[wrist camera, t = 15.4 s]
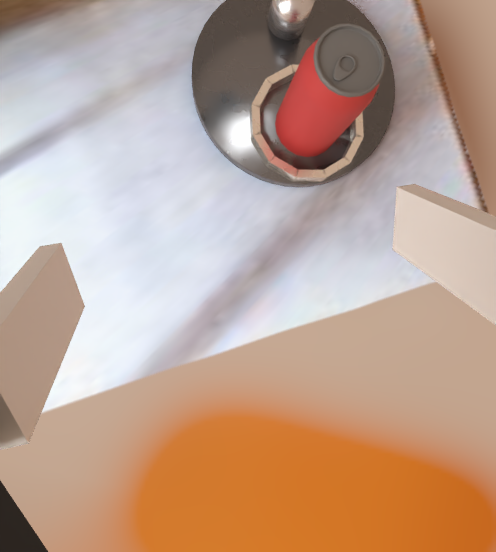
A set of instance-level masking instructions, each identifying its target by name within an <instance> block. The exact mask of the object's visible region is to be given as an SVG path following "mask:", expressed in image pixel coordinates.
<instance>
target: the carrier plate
mask: <svg viewBox="0 0 496 552" xmlns="http://www.w3.org/2000/svg"><path fill="white" fill-rule="evenodd" d="M346 23H350V24H354V25H358V26H361V27H363V28H364V29H366V30H368V31H369V32H371V33H372V34H373V36H374V37H375V38H376V39H377V40H378V41H379V43H380V45H381V47H382V49H383V51H384V57H385V69H384V75H383V77H382V79H381V81H380V83H379V87H378V89H377V91H376V93H375V95H374V97H373V99H372V101H371V103H370V104H369V105H368V106H367V107H366V108H365V109H364V110H363V112H362V113H361V114H360V115H359V116H358V117H357V118H356V119H355V120H354V121H353V122H352V123H351V125H350V126H349V127H348V128H347V129H346V130H345V131H344V132H343V133H342V134H341V135H340V136H339V138H338V139H337V140H336V141H335V142H334V143H333V144H332V145H331V146H330V147H329V148H328V149H327V150H326V151H325V152H324V153H321V154H319V155H317V156H312V157H304V156H299V155H296V154H294V153H292V152H290V151H289V150H288V149H287V148H286V147H285V146H284V145H283V144H282V143H281V141H280V139H279V137H278V135H277V132H276V126H275V121H276V115H277V112H278V110H279V108H280V106H281V103H282V101H283V99H284V97H285V95H286V92H287V90H288V88H289V86H290V84H291V81H292V79H293V77H294V75H295V73H296V70H297V68H298V66H299V64H300V62H301V60H302V58H303V56H304V54H305V52H306V50H307V49H308V48H309V47H310V46H311V45H312V44H313V43H314V42H315V41H316V40H317V39H318V38H319V37H320V36H321V35H322V34H323V33H324V32H325V31H326V30H327V29H328V28H330V27H332V26H335V25H337V24H346ZM192 88H193V97H194V102H195V106H196V110H197V113H198V115H199V118H200V121H201V123H202V125H203V127H204V129H205V131H206V133H207V135H208V136H209V137H210V139H211V140H212V142H213V143H214V145H215V146H216V147H217V148H218V149H219V150H220V152H221V153H222V154H223V155H224V156H225V157H226V158H227V159H228V160H230V161H231V162H232V163H233V164H234V165H235V166H237V167H238V168H240V169H241V170H243V171H244V172H246V173H248V174H250V175H252V176H254V177H256V178H258V179H260V180H263V181H266V182H269V183H272V184H276V185H281V186H288V187H310V186H316V185H321V184H325V183H328V182H330V181H333V180H336V179H338V178H340V177H342V176H344V175H346V174H347V173H349V172H350V171H352V170H353V169H354V168H356V167H357V166H358V165H360V164H361V163H362V162H363V161H364V160H365V159H366V158H367V157H368V156H369V155H370V154H371V153H372V152H373V151H374V149H375V148H376V147H377V146H378V144H379V143H380V141H381V139H382V138H383V136H384V134H385V132H386V130H387V127H388V125H389V122H390V119H391V115H392V112H393V105H394V98H395V84H394V75H393V70H392V65H391V61H390V58H389V55H388V53H387V50H386V47H385V45H384V43H383V41H382V39H381V38H380V36H379V34H378V33H377V31H376V30H375V28H374V27H373V25H372V24H371V23H370V22H369V20H368V19H367V18H366V17H365V16H364V14H362V13H361V12H360V11H359V10H358V9H357V8H356V7H355V6H354V5H352V4H351V3H350V2H348V1H347V0H226V1H225V2H224V3H222V4H221V5H220V6H219V7H218V8H217V9H216V11H215V12H214V13H213V14H212V15H211V17H210V18H209V20H208V21H207V22H206V24H205V25H204V28H203V30H202V32H201V34H200V36H199V38H198V41H197V44H196V47H195V51H194V57H193V62H192Z"/></svg>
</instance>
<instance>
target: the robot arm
mask: <svg viewBox="0 0 496 552" xmlns="http://www.w3.org/2000/svg"><path fill="white" fill-rule="evenodd" d="M393 250H394V251H395V252H397V253H398V254H399V255H401V256H402V257H403V258H405V259H406V260H407V261H409V262H410V263H412V264H413V265H414V266H416V267H417V268H418V269H420V270H421V271H422V272H424V273H425V274H426V275H428V276H429V277H431V278H432V279H433V280H435V281H436V282H437V283H439V284H440V285H441V286H443V287H444V288H446V289H447V290H448V291H450V292H451V293H452V294H454V295H455V296H456V297H458V298H459V299H461V300H462V301H463V302H465V303H466V304H468V305H469V306H470V307H471V308H473V309H474V310H475V311H477V312H478V313H480V314H481V315H482V316H484V317H485V318H486V319H488V320H489V321H490V322H492V323H493V324H495V325H496V216H494V215H491V214H489V213H486V212H484V211H481V210H479V209H476V208H474V207H471V206H469V205H466V204H464V203H461V202H459V201H456V200H453V199H451V198H448V197H446V196H443V195H441V194H438V193H436V192H433V191H431V190H428V189H426V188H423V187H421V186H418V185H416V184H412V185H406V186H400V187H397V191H396V206H395V221H394V236H393ZM84 307H85V306H84V303H83V300H82V298H81V295H80V292H79V290H78V287H77V284H76V281H75V279H74V276H73V273H72V271H71V268H70V265H69V263H68V260H67V257H66V254H65V252H64V249H63V246H62V244H61V243H58V244H52V245H46V246H40V247H39V248H38V249H37V250H36V251H35V253H34V254H33V255H32V256H31V257H30V259H29V260H28V261H27V262H26V263H25V264H24V266H23V267H22V268H21V269H20V270H19V271H18V273H17V274H16V275H15V276H14V277H13V279H12V280H11V281H10V282H9V283H8V284H7V286H6V287H5V288H4V289H3V290H2V291H1V293H0V450H1V449H6V448H10V447H14V446H20V445H24V444H29V441H30V439H31V436H32V434H33V432H34V429H35V426H36V424H37V422H38V419H39V417H40V414H41V412H42V410H43V407H44V405H45V402H46V400H47V397H48V395H49V392H50V390H51V388H52V385H53V383H54V380H55V378H56V375H57V373H58V370H59V368H60V366H61V363H62V361H63V358H64V356H65V353H66V351H67V348H68V346H69V344H70V341H71V339H72V336H73V334H74V331H75V329H76V327H77V324H78V322H79V319H80V317H81V314H82V312H83V309H84ZM0 552H48V551H47V550H46V548H45V546H44V545H43V543H42V542H41V540H40V539H39V537H38V536H37V534H36V533H35V531H34V530H33V529H32V527H31V526H30V524H29V523H28V521H27V520H26V518H25V517H24V515H23V514H22V512H21V511H20V509H19V508H18V507H17V505H16V503H15V502H14V500H13V499H12V497H11V496H10V494H9V493H8V491H7V490H6V488H5V487H4V485H3V484H2V483H1V481H0Z"/></svg>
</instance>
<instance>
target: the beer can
mask: <svg viewBox="0 0 496 552" xmlns="http://www.w3.org/2000/svg"><path fill="white" fill-rule="evenodd" d="M384 69H385V57H384V51H383V49H382V47H381V45H380V43H379V41H378V40H377V39H376V38H375V37H374V36H373V34H372V33H371V32H369V31H368V30H366V29H364V28H363V27H361V26H358V25H354V24H350V23H346V24H337V25H335V26H332V27H330V28H328V29H327V30H326V31H325V32H324V33H323V34H322V35H321V36H320V37H319V38H318V39H317V40H316V41H315V42H314V43H313V44H312V45H311V46H310V47H309V48H308V49H307V50H306V52H305V54H304V56H303V58H302V60H301V62H300V64H299V66H298V68H297V70H296V73H295V75H294V77H293V79H292V81H291V84H290V86H289V88H288V90H287V92H286V95H285V97H284V99H283V101H282V103H281V106H280V108H279V110H278V112H277V115H276V121H275V126H276V132H277V135H278V137H279V139H280V141H281V143H282V144H283V145H284V146H285V147H286V148H287V149H288V150H289V151H290V152H292V153H294V154H296V155H299V156H304V157H312V156H317V155H319V154H321V153H324V152H325V151H326V150H327V149H328V148H329V147H330V146H331V145H332V144H333V143H334V142H335V141H336V140H337V139H338V138H339V136H340V135H341V134H342V133H343V132H344V131H345V130H346V129H347V128H348V127H349V126H350V125H351V123H352V122H353V121H354V120H355V119H356V118H357V117H358V116H359V115H360V114H361V113H362V112H363V110H364V109H365V108H366V107H367V106H368V105H369V104H370V103H371V101H372V99H373V97H374V95H375V93H376V91H377V89H378V87H379V83H380V81H381V79H382V77H383V75H384Z"/></svg>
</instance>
